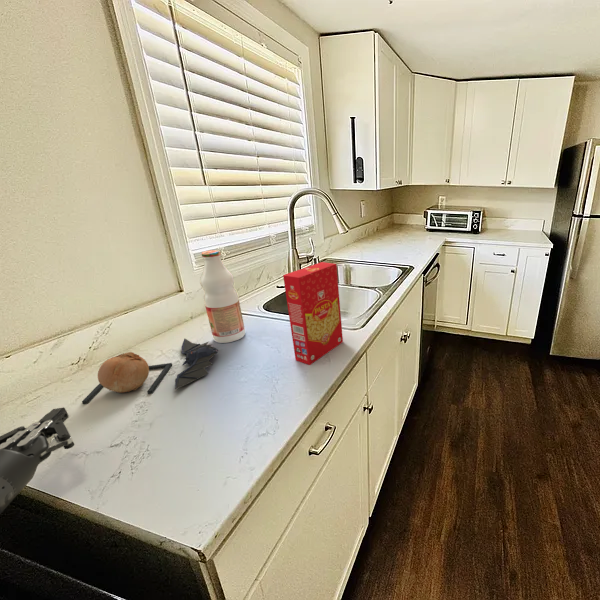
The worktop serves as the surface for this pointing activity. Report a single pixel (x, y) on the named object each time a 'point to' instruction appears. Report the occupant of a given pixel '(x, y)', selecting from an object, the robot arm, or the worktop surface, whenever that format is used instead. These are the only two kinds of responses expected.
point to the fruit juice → (221, 299)
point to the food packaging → (314, 311)
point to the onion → (123, 372)
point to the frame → (150, 391)
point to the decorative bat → (195, 362)
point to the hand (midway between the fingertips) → (61, 412)
